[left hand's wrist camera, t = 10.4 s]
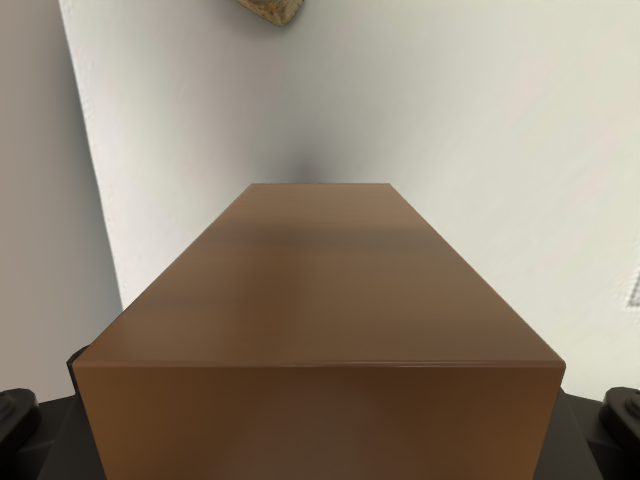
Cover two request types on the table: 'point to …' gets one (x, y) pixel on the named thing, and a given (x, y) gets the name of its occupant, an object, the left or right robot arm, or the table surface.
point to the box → (319, 353)
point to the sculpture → (273, 9)
